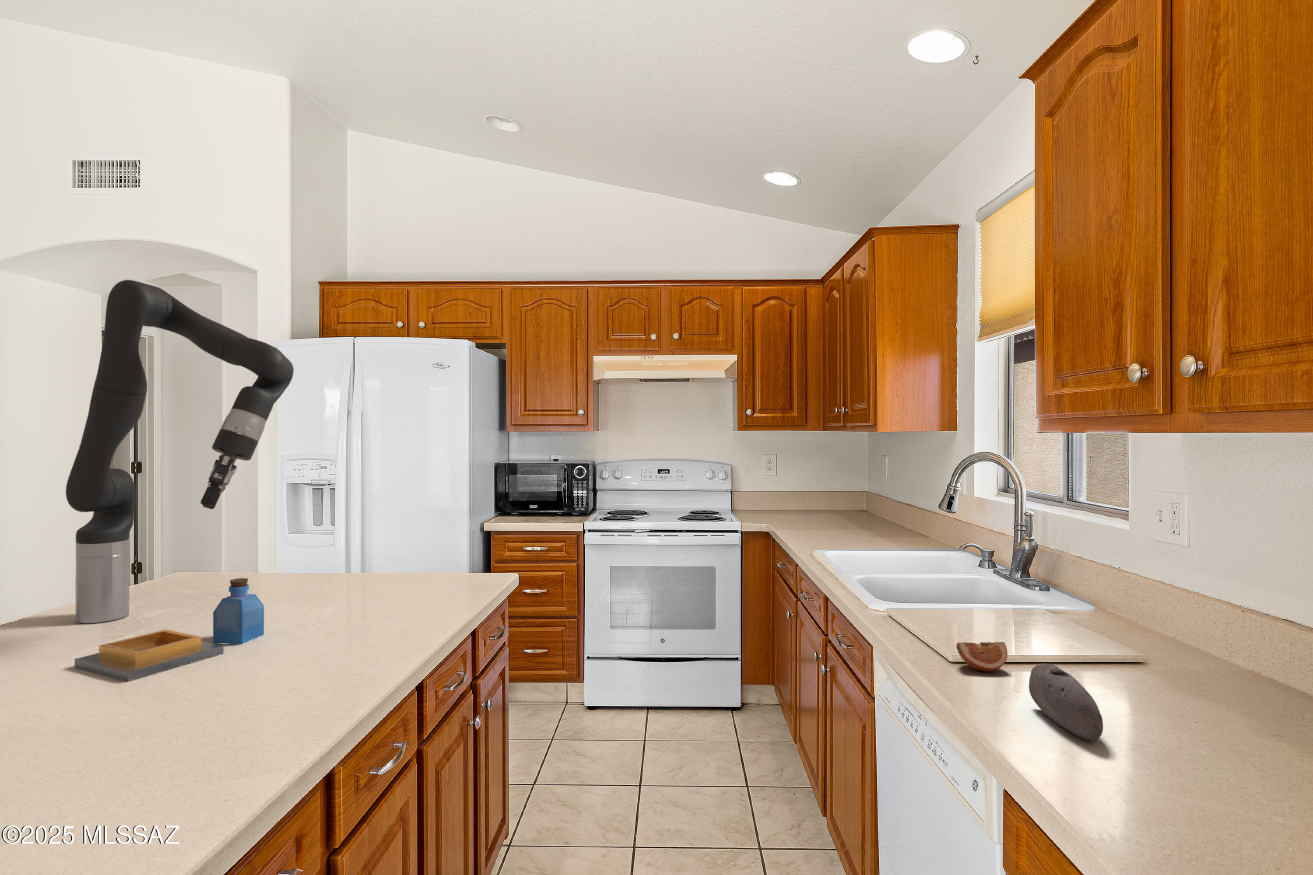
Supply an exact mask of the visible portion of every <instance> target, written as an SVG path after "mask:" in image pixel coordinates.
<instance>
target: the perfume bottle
mask: <svg viewBox="0 0 1313 875" xmlns="http://www.w3.org/2000/svg"><path fill="white" fill-rule="evenodd" d="M248 582H249V578H246V577H243V578H242V577H240V578H239V577H238V578H233V579H230V580H229V583H230V586H228V592H229V593H230V595H229V596H226V597H223V598H221V600H220V602H219V603H218V605H217V606H216V607H215V608H214V610H213V613H212V643H229V644H228V645H237V644H243V643H245V644H247V643H246V642H248V641H250V640H252V639H254V640H256V639H255V638H257V637H259V636H261V637H263V636H262V635H264V636H265V605H264V604H263V602H262V601H261V600H260V599H259V597H258V596H257V595H256V594H255V593H253V594H252V593H248V591H250V585H249V584H248ZM259 638H260V637H259ZM257 639H258V638H257ZM252 641H253V640H252ZM250 642H251V641H250ZM248 643H249V642H248ZM243 645H244V644H243Z"/></svg>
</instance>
